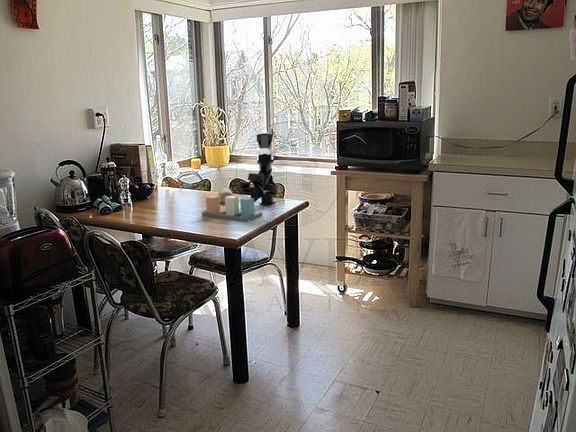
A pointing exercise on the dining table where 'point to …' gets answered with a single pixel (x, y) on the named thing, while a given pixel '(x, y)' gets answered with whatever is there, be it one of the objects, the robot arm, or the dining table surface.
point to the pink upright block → (213, 204)
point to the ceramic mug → (224, 194)
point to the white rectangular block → (232, 205)
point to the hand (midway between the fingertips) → (251, 203)
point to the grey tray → (234, 217)
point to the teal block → (247, 207)
